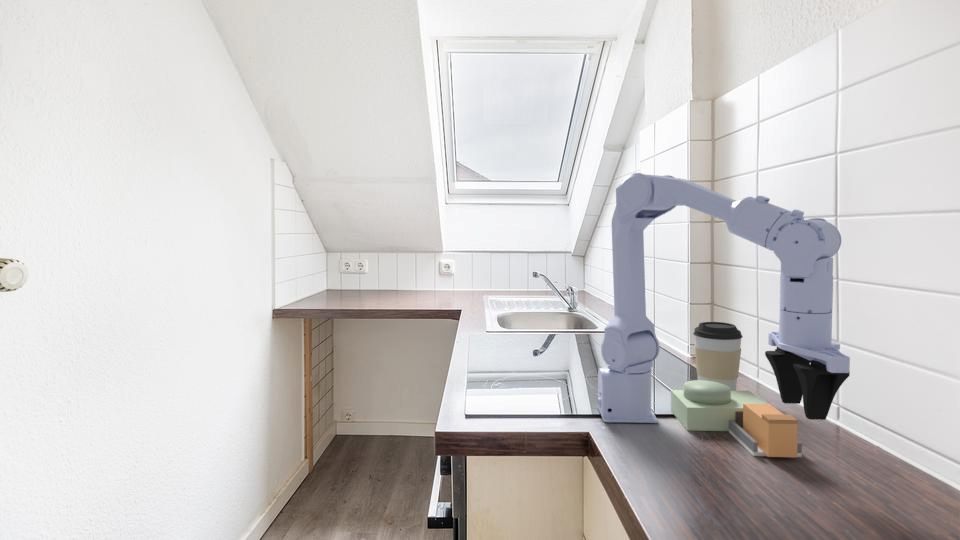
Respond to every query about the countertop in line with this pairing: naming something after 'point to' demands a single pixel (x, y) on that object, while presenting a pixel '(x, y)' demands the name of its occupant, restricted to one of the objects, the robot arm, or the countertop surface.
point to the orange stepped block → (771, 430)
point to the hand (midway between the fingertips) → (802, 410)
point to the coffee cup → (718, 352)
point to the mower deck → (716, 410)
